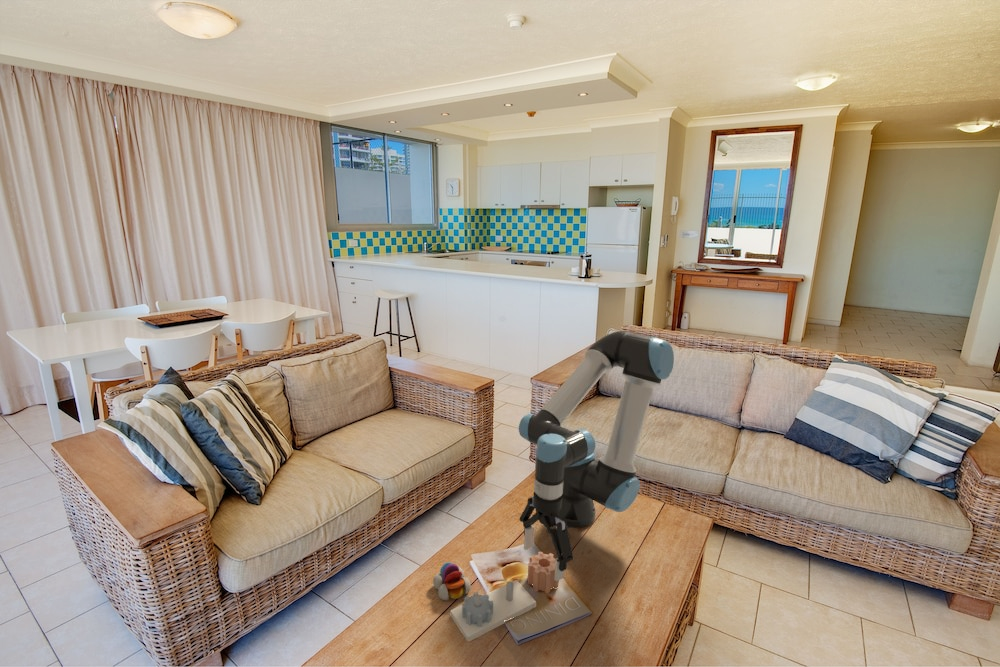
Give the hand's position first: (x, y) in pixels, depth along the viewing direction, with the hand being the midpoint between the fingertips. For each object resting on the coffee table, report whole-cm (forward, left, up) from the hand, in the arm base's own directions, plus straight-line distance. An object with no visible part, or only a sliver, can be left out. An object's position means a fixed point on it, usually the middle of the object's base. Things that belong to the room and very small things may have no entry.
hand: (543, 562), depth 129 cm
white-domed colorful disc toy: (-11, -22, -7) cm, 26 cm away
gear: (0, 0, -6) cm, 6 cm away
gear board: (+1, -17, -6) cm, 18 cm away
